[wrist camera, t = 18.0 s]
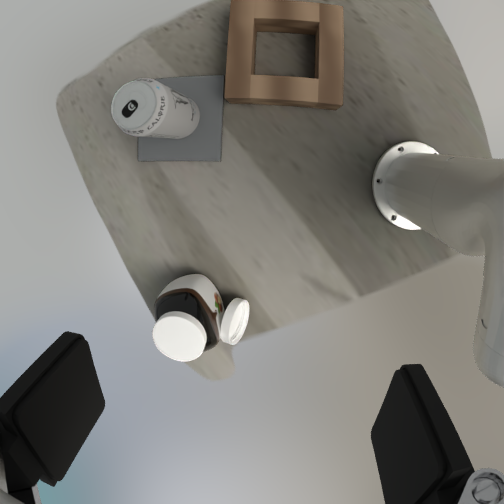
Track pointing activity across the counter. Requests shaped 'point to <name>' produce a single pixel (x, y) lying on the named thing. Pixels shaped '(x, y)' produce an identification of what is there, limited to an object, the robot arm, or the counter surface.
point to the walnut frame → (286, 21)
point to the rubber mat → (207, 131)
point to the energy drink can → (154, 110)
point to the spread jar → (196, 318)
